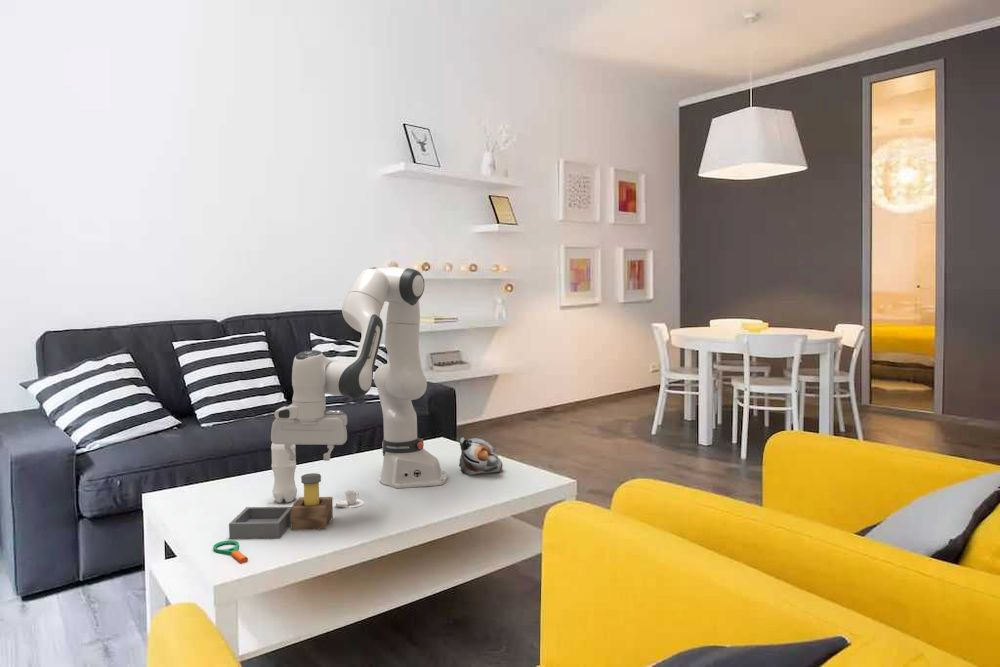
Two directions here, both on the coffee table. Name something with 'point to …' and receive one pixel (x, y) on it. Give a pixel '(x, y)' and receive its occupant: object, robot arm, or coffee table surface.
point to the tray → (260, 523)
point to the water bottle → (283, 473)
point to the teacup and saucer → (350, 499)
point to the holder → (311, 514)
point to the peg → (311, 489)
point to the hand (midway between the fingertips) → (309, 460)
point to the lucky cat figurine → (478, 457)
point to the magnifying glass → (231, 550)
